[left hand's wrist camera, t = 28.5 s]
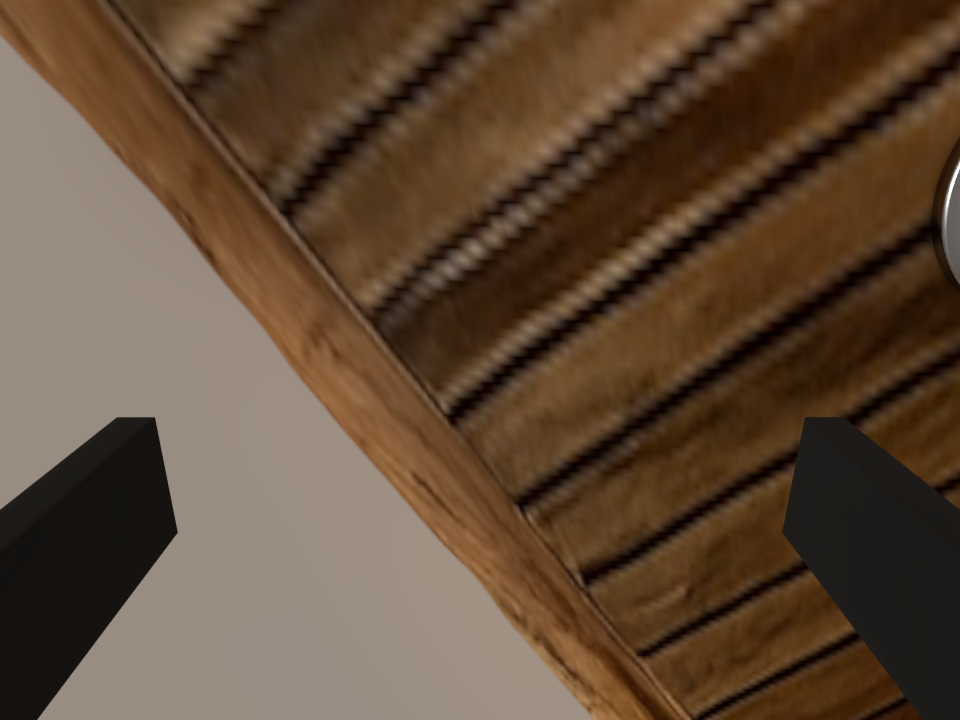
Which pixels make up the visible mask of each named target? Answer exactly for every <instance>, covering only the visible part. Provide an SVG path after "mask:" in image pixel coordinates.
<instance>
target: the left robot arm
mask: <svg viewBox="0 0 960 720" xmlns="http://www.w3.org/2000/svg"><path fill="white" fill-rule="evenodd" d="M931 229H932V240H933V246H934V250H935V254H936V257H937V260H938V262H939V265H940V267H941V269H942V271H943V273H944V275H945V276H946V278H947V279H948V280H949V282H950V283H951V284H952V286H953V287H954V288H955V289H956V290H957V291H958V292H959V293H960V138H959V140H958V141H957V143H956V144H955V146H954V148H953V150H952V152H951V153H950V155H949V157H948V159H947V161H946V164H945V166H944V168H943V170H942V173H941V176H940V178H939V181H938V184H937V188H936V192H935V196H934V201H933V207H932V218H931ZM177 533H178V531H177V527H176V521H175V516H174V511H173V506H172V501H171V496H170V491H169V486H168V481H167V476H166V471H165V466H164V461H163V456H162V451H161V446H160V441H159V436H158V431H157V426H156V420H155V418H154V417H117V418H116V419H114V420H113V421H112V422H111V423H109V424H108V425H107V426H105V427H104V428H103V429H102V430H100V431H99V432H98V433H97V434H95V435H94V436H93V437H92V438H90V439H89V440H88V441H87V442H85V443H84V444H83V445H82V446H80V447H79V448H78V449H76V450H75V451H74V452H73V453H71V454H70V455H69V456H68V457H66V458H65V459H64V460H63V461H61V462H60V463H59V464H57V465H56V466H55V467H54V468H52V469H51V470H50V471H49V472H47V473H46V474H45V475H44V476H42V477H41V478H40V479H38V480H37V481H36V482H35V483H33V484H32V485H31V486H30V487H28V488H27V489H26V490H25V491H23V492H22V493H21V494H20V495H18V496H17V497H16V498H14V499H13V500H12V501H11V502H9V503H8V504H7V505H6V506H4V507H3V508H2V509H1V510H0V720H37V719H38V718H39V717H40V715H41V714H42V713H43V711H44V710H45V709H46V707H47V706H48V705H49V703H50V702H51V701H52V699H53V698H54V697H55V695H56V694H57V693H58V691H59V690H60V689H61V687H62V686H63V685H64V683H65V682H66V681H67V679H68V678H69V677H70V675H71V674H72V673H73V671H74V670H75V669H76V667H77V666H78V665H79V663H80V662H81V661H82V659H83V658H84V657H85V655H86V654H87V653H88V651H89V650H90V649H91V647H92V646H93V645H94V643H95V642H96V641H97V639H98V638H99V637H100V635H101V634H102V633H103V631H104V630H105V629H106V627H107V626H108V625H109V623H110V622H111V621H112V619H113V618H114V617H115V615H116V614H117V613H118V611H119V610H120V609H121V607H122V606H123V605H124V603H125V602H126V601H127V599H128V598H129V597H130V595H131V594H132V593H133V591H134V590H135V589H136V587H137V586H138V585H139V583H140V582H141V581H142V579H143V578H144V577H145V575H146V574H147V573H148V571H149V570H150V569H151V567H152V566H153V565H154V563H155V562H156V561H157V559H158V558H159V557H160V555H161V554H162V553H163V551H164V550H165V549H166V547H167V546H168V545H169V544H170V542H171V541H172V540H173V538H174V537H175V536H176V534H177ZM782 533H783V534H784V536H785V537H786V538H787V540H788V541H789V542H790V544H791V545H792V546H793V548H794V549H795V550H796V551H797V553H798V554H799V555H800V557H801V558H802V559H803V561H804V562H805V563H806V565H807V566H808V567H809V569H810V570H811V571H812V573H813V574H814V575H815V577H816V578H817V579H818V581H819V582H820V583H821V585H822V586H823V587H824V589H825V590H826V591H827V593H828V594H829V595H830V597H831V598H832V599H833V601H834V602H835V603H836V605H837V606H838V607H839V609H840V610H841V611H842V613H843V614H844V615H845V617H846V618H847V619H848V621H849V622H850V623H851V625H852V626H853V627H854V629H855V630H856V631H857V633H858V634H859V635H860V637H861V638H862V639H863V641H864V642H865V643H866V645H867V646H868V647H869V649H870V650H871V651H872V653H873V654H874V655H875V657H876V658H877V659H878V661H879V662H880V663H881V665H882V666H883V667H884V669H885V670H886V671H887V673H888V674H889V675H890V677H891V678H892V679H893V681H894V682H895V683H896V685H897V686H898V687H899V689H900V690H901V691H902V693H903V694H904V695H905V697H906V698H907V699H908V701H909V702H910V703H911V705H912V706H913V707H914V709H915V710H916V711H917V713H918V714H919V715H920V717H921V718H922V719H923V720H960V510H959V509H958V508H957V507H956V506H954V505H953V504H952V503H951V502H949V501H948V500H947V499H946V498H944V497H943V496H942V495H940V494H939V493H938V492H937V491H935V490H934V489H933V488H932V487H930V486H929V485H928V484H927V483H925V482H924V481H923V480H922V479H920V478H919V477H918V476H916V475H915V474H914V473H913V472H911V471H910V470H909V469H908V468H906V467H905V466H904V465H903V464H901V463H900V462H899V461H897V460H896V459H895V458H894V457H892V456H891V455H890V454H889V453H887V452H886V451H885V450H884V449H882V448H881V447H880V446H879V445H877V444H876V443H875V442H873V441H872V440H871V439H870V438H868V437H867V436H866V435H865V434H863V433H862V432H861V431H860V430H858V429H857V428H856V427H855V426H853V425H852V424H851V423H849V422H848V421H847V420H846V419H844V418H843V417H805V420H804V425H803V431H802V436H801V441H800V446H799V451H798V456H797V461H796V466H795V471H794V476H793V481H792V486H791V491H790V496H789V501H788V506H787V511H786V516H785V521H784V526H783V531H782Z"/></svg>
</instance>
